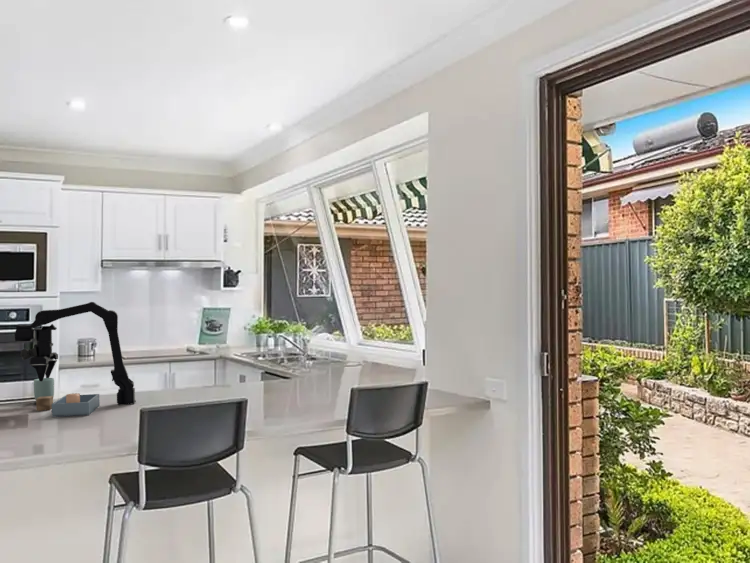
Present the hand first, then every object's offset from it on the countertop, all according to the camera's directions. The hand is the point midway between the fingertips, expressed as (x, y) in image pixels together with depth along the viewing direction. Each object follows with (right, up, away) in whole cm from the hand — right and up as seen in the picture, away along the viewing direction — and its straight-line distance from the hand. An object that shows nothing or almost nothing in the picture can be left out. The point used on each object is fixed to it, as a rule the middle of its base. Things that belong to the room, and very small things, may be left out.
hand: (44, 379), depth 275 cm
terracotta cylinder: (+16, -11, -10) cm, 22 cm away
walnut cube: (0, -12, 0) cm, 12 cm away
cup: (-8, -12, +17) cm, 22 cm away
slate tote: (+15, -12, -5) cm, 20 cm away
